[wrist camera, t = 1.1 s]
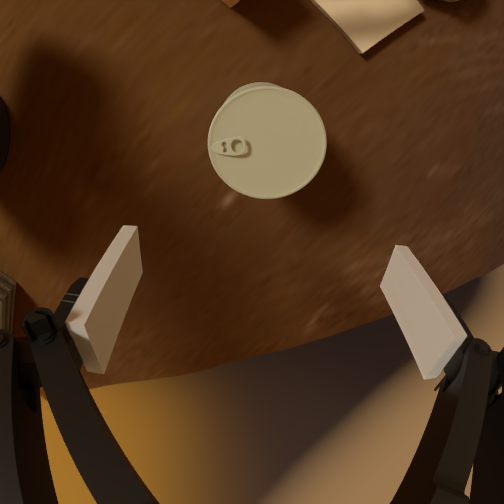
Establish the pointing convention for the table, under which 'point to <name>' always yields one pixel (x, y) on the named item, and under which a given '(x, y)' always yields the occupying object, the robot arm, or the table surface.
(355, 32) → the flat beige board
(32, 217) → the table surface
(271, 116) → the can
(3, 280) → the dark boxy piece
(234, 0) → the cube with dome bump
